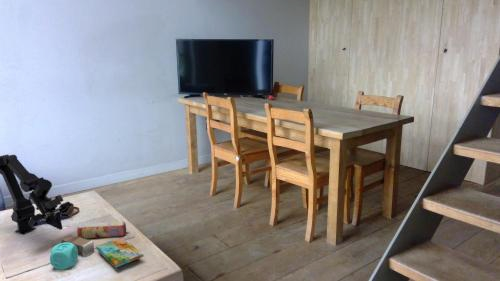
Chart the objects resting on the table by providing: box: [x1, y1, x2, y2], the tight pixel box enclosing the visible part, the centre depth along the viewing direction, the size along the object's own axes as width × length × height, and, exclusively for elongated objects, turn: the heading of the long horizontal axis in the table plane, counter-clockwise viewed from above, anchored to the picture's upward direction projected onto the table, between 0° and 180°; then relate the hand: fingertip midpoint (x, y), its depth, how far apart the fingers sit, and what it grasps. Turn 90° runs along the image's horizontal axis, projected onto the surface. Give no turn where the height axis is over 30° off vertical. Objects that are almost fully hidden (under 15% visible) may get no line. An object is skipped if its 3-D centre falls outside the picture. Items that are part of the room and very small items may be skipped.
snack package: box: [76, 220, 127, 240], centre depth 186 cm, size 21×7×7 cm, turn 98°
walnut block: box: [61, 234, 95, 258], centre depth 173 cm, size 5×5×14 cm
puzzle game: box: [95, 236, 144, 268], centre depth 167 cm, size 12×5×20 cm
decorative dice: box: [49, 242, 79, 271], centre depth 162 cm, size 8×8×8 cm
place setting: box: [58, 202, 80, 220], centre depth 208 cm, size 18×20×6 cm
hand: (61, 229), depth 175 cm, fingers closed
